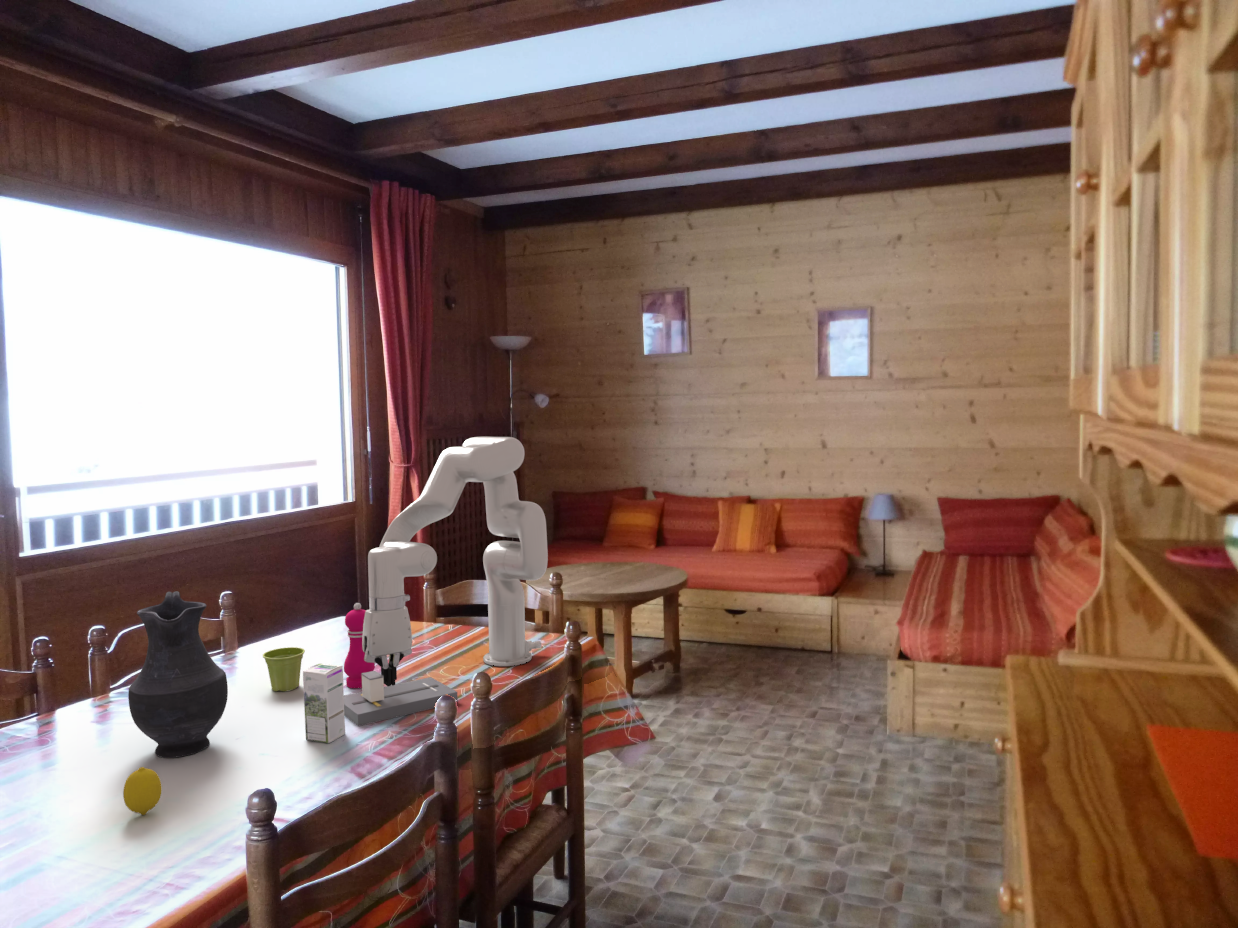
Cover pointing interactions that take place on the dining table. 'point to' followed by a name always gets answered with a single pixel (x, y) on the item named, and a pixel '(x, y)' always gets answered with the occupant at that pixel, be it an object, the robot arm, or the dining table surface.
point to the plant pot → (284, 667)
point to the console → (396, 701)
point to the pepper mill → (356, 648)
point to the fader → (372, 686)
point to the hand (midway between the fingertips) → (389, 683)
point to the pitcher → (177, 680)
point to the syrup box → (324, 703)
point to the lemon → (142, 790)
